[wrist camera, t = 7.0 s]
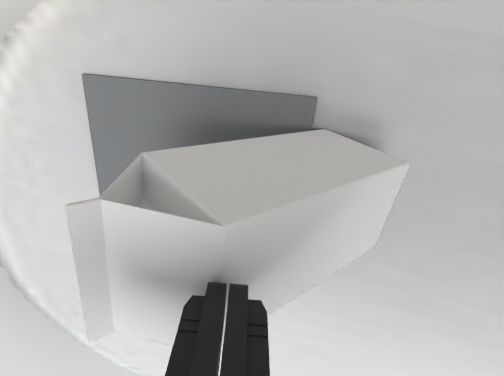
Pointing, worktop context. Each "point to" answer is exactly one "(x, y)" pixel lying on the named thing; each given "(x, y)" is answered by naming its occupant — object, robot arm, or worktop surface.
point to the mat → (180, 118)
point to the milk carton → (226, 226)
